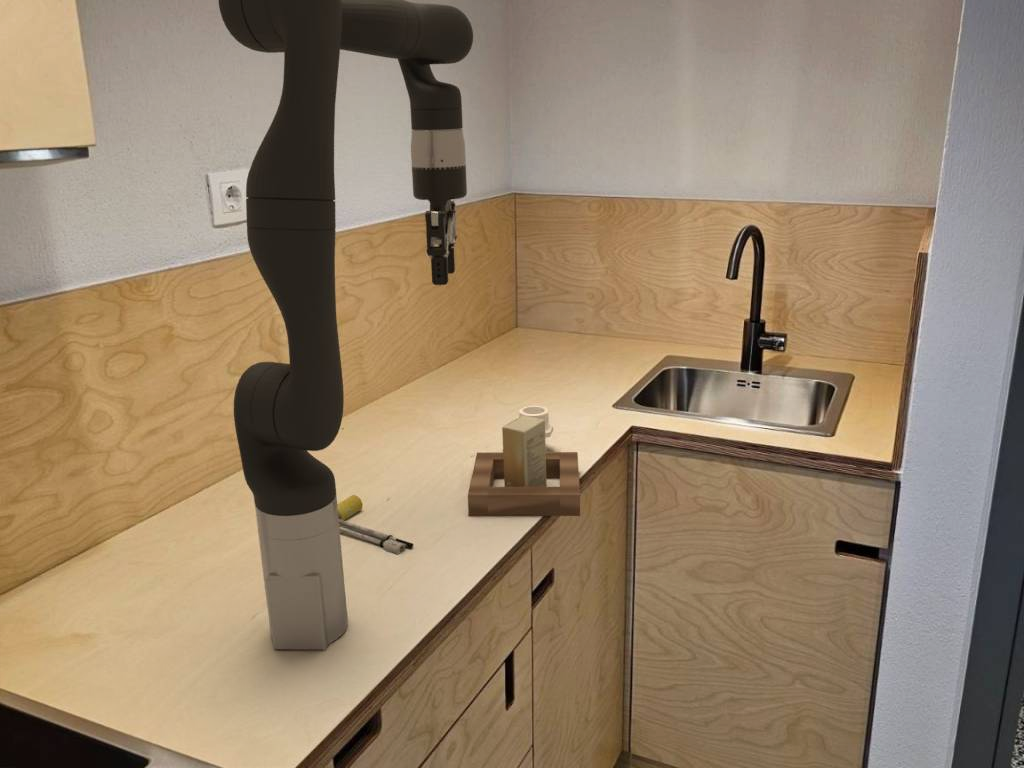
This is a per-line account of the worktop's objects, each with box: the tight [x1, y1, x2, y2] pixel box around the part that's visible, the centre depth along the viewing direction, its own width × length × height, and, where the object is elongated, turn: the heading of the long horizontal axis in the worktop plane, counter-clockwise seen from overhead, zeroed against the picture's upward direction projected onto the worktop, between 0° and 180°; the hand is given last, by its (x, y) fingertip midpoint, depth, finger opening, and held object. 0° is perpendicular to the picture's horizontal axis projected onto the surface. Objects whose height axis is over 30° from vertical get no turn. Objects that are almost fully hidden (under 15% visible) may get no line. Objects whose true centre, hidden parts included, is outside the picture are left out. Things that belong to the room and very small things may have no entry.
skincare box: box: [501, 416, 548, 487], centre depth 142 cm, size 6×4×12 cm
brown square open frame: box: [467, 451, 581, 517], centre depth 144 cm, size 17×17×4 cm
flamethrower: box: [337, 494, 414, 555], centre depth 135 cm, size 29×3×10 cm
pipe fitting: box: [518, 405, 554, 439], centre depth 159 cm, size 6×7×8 cm
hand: (444, 278), depth 129 cm, fingers open, 8 cm apart
